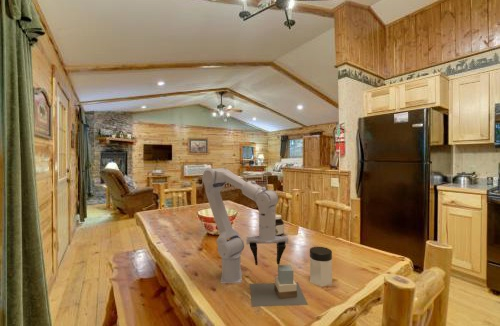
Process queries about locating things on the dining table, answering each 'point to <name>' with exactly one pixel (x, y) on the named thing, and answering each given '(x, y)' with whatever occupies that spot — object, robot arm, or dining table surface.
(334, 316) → the dining table surface
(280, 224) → the spread jar
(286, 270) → the gray cube
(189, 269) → the dining table surface
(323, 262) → the jar
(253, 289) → the felt mat
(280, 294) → the walnut slab
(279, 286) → the cream slab
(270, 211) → the robot arm
